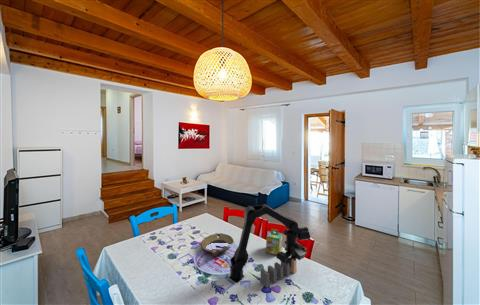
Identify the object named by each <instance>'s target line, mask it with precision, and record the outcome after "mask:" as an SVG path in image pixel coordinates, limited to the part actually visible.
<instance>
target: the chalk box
mask: <svg viewBox="0 0 480 305" xmlns="http://www.w3.org/2000/svg"><path fill="white" fill-rule="evenodd" d="M265 241H266V243H265V245H266V246H265V254H269V255H274V256H276V254H277V253H279V252H281V251H282V250H283V232H282V233H281V232H279V229H274V228H271V230H270V231H269V232H268V233H267V235H266V240H265Z"/></svg>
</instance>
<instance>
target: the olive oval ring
mask: <svg viewBox="0 0 480 305" xmlns="http://www.w3.org/2000/svg"><path fill="white" fill-rule="evenodd" d="M211 243H228V244H231V245H233V243H235V242H234V239H233V238H232V236H230V235H228V234H226V233H222V232H220V233H217V232H216V233H215V234H213V233H212V234H210V235H208V236H206V237H204V238H203V239H202V240H201V243H200V247H201V249H202V251H204V252H206V253H209V254H212V256H214V257H217V256H218V255H219V254H221V253H224V252H226V251H228V250H229V249H231V248H232V247H231V246H227V247H225V248H222V249H219V250H217V249H218V248H217V249H212V250H209V249H206V246H207V245H209V244H211Z"/></svg>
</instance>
